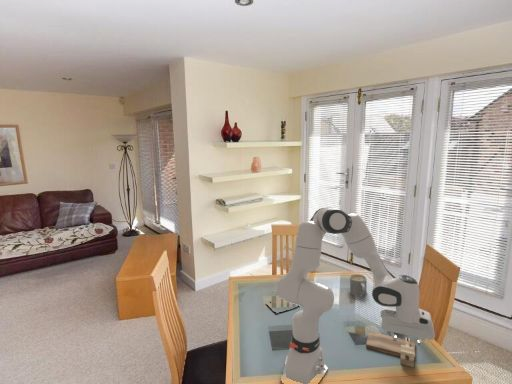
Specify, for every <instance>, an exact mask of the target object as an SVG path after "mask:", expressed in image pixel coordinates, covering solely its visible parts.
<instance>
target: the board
mask: <svg viewBox="0 0 512 384" xmlns="http://www.w3.org/2000/svg"><path fill="white" fill-rule="evenodd" d="M405 344H406V338H400V337H397V341H393V337H392V335H388V334H383V333H380V332H374V331H370V330H369V331H368V333H367V338H366V344H365V348H366V349H370V350H374V351H379V352H381V353H386V354H390V355H393V356H397V357H401V345H404V346H405ZM409 347H413V348H414V361H416V341H414V340H410V345H409Z"/></svg>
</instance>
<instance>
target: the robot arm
mask: <svg viewBox="0 0 512 384" xmlns="http://www.w3.org/2000/svg"><path fill="white" fill-rule="evenodd" d="M326 234H332V235H338V234H339V235H340V234H341V235H342V236H343V238H344V241H345V244H346V245H347V247H348V249H349V251H350V253H351V254H352V255H353V256H354V257H356V258H359V259H363V260H365V262H366V264H367V266H368V267H369V269H370V271H371V273H372V276H373V278H372V279H373V280H372V281H373V282H372V283H373V284H372V291H371V296H372V299H373V300H374V302H375V303H376V304H378V305H380V306H382V307H385V306H389V307H396V311H392V310H386V309H382V310H381V311H380V318H381V324H380V325H381V329H382V330H383V331H385V332H389V333H390V336H392V337H393V341H397V335H396V334H399V335H406V336H409V337H410V336H411V337H416V338H419V339H417V343H416V345H417V346H418V347H422V346H423V345H422V344H423V343H424V341H425V339H426V340H430V341H433V340H435V338H436V337H435V336H436V335H435V328H434V327H435V326H434V323H433V320H432V315H431V313H430V312H429V311H427V310H424V309H422V308H420V306H419V301H420V288H419V283H418V281H417V280H416V279H415V278H414V277H412V276H409V275H407V274H400V275H398V276H394V275H393V274H392V272H390V271H389V270H388V269H387V268H386V265H385V264H384V262H383V260H382V258H381V256H380V255H379V253H378V251H377V246H376V244H375V240H374V238H373V235H372V234H371V231H370V229H369V228H368V226H367V224H366V222H365V221H364V220H363V218H362V217H361V216H360V215H359V214H357V213H346V212H345V211H344V210H342V209H340V208H338V207H337V208H336V207H331V206H330V207H322V208H319V209H317V210H316V211H315V212H314V213H313V215H312V216H311V218H310V220H305V221H302V222H300V224H299V225H298V229H297V234H296V238H295V245H294V253H293V260H292V265H291V267H290V269H289V270H288V272H287V273H286V274H285V275H283V276H280V278H279V280H277V282H276V286H275V287H276V288H275V289H276V294H277V296H278V297H279V299H284V300H285V301H287V302H290V303H293V304H296V305H299V306H300V307H301V308H302V309H301V310H298V311H297V312H295V313H294V314H293V316H292V320H291V324H292V327H291V328H292V332H291V339H290V340H291V341H290V343H289V350H288V353H287V354H286V357H285V361H284V364H285V365H286V377H287V378H289V379H291V380H293V381H296V382H300V383H303V384H308V383H310V381H311V380H312V379H313V378H314V377H315V376H316V375H317V374H324V373H325V372H326V371H327V370H328V371H329V367H328V365H326V363H325V355H324V350H323V348H322V347H321V345H320V344H321V338H320V333H319V325H320V324H319V321H320V318H321V316H322V315H323V314H324V313H326V312H328V311H330V310H331V308H332V307H333V306H334V304H335V294H334V292H333V290H332V288H331V287H330V286H327V285H325V284H323V283H320V282H317V281H313V280H309V279H307V278H308V277H307V276H308V275H309V273H312V272H315V271H316V270H317V269H319V267H320V265H321V256H322V255H321V254H322V243H323V238H324V236H325V235H326ZM395 333H396V334H395ZM323 369H324V370H323Z"/></svg>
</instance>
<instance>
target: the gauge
mask: <svg viewBox="0 0 512 384" xmlns="http://www.w3.org/2000/svg"><path fill="white" fill-rule="evenodd" d="M405 339H406V344H405V346H404V345H401V356H400V365H404V366H408V367H411V368H415V360H414V348H413V347H409V345H410V339H411V338H410V337H405Z"/></svg>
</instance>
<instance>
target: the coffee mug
mask: <svg viewBox="0 0 512 384" xmlns="http://www.w3.org/2000/svg"><path fill="white" fill-rule="evenodd" d="M349 286H350V287H349V288H350V289H349V290H350V291H351V292H350V291H349V292H350V294H351V295H353V294H354V296H356V295H357V296H358V297H363V296H366V295H367V288H368V287H367V277H366V276H365V275H363V274H358V273H357V274H356V273H355V274H351V275H350V277H349Z"/></svg>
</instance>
